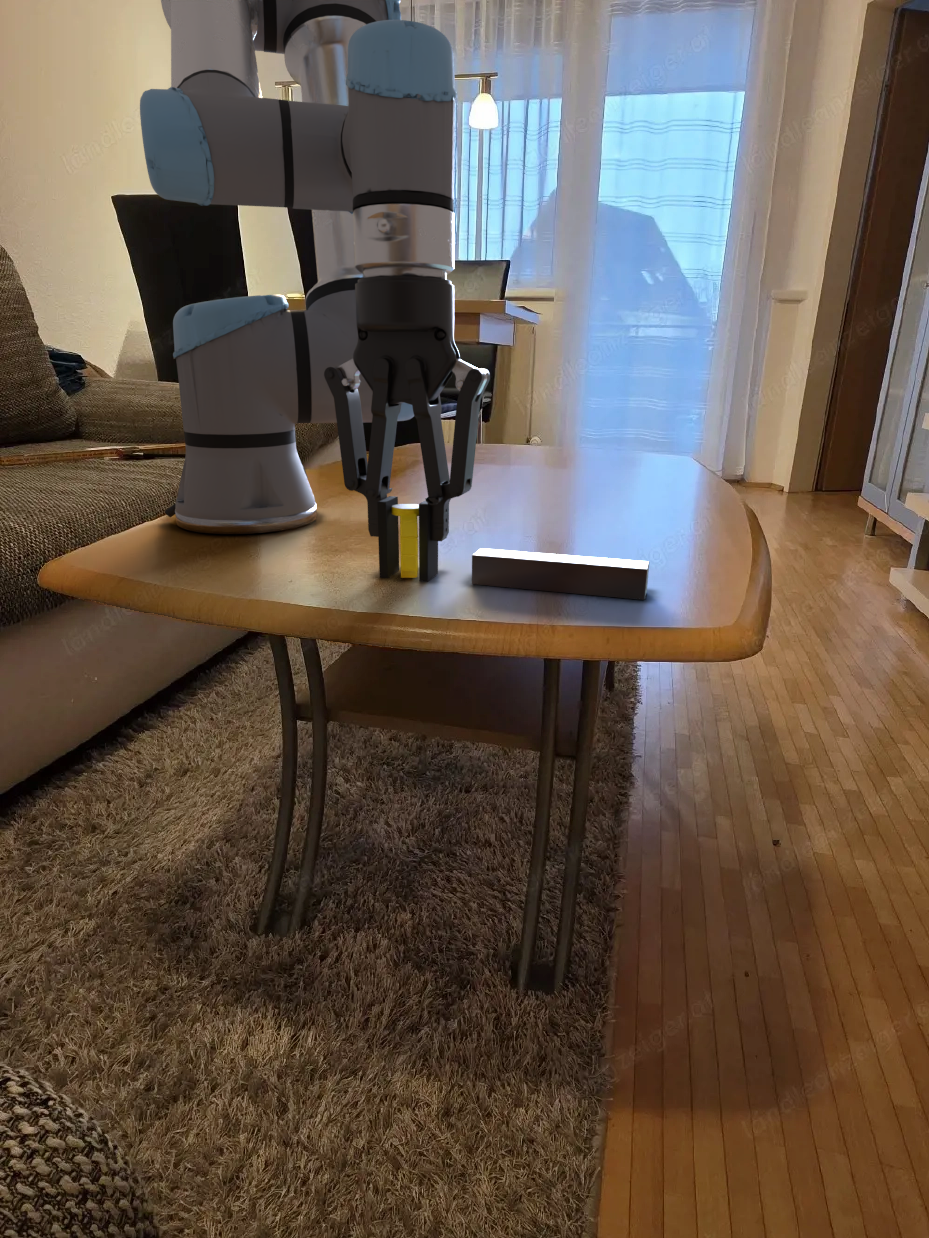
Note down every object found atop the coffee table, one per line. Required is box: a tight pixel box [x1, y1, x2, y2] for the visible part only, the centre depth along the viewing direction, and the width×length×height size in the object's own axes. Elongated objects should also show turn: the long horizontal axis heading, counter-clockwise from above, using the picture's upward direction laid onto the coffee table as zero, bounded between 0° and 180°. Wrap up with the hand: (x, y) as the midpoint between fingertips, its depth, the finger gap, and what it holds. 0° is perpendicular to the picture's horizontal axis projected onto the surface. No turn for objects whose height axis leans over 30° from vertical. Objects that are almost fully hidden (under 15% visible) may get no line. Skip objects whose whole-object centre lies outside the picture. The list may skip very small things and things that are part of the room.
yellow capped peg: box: [392, 503, 419, 579], centre depth 64 cm, size 6×3×6 cm, turn 5°
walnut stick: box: [471, 547, 650, 601], centre depth 61 cm, size 14×2×2 cm, turn 73°
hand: (409, 575), depth 65 cm, fingers open, 3 cm apart
